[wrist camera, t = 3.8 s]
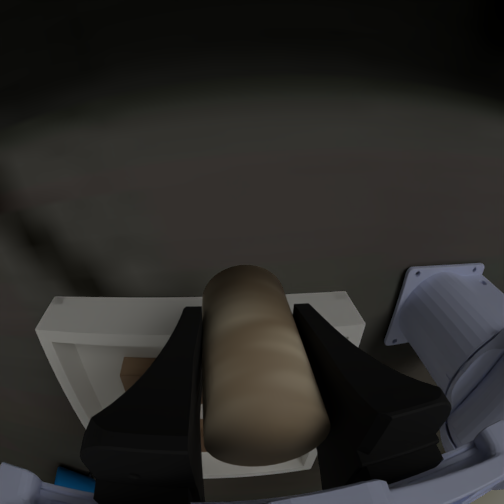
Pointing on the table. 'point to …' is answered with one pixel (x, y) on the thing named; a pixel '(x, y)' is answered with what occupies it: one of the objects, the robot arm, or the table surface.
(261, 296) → the peg
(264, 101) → the table surface
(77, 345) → the tray
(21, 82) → the table surface
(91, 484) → the alarm clock
